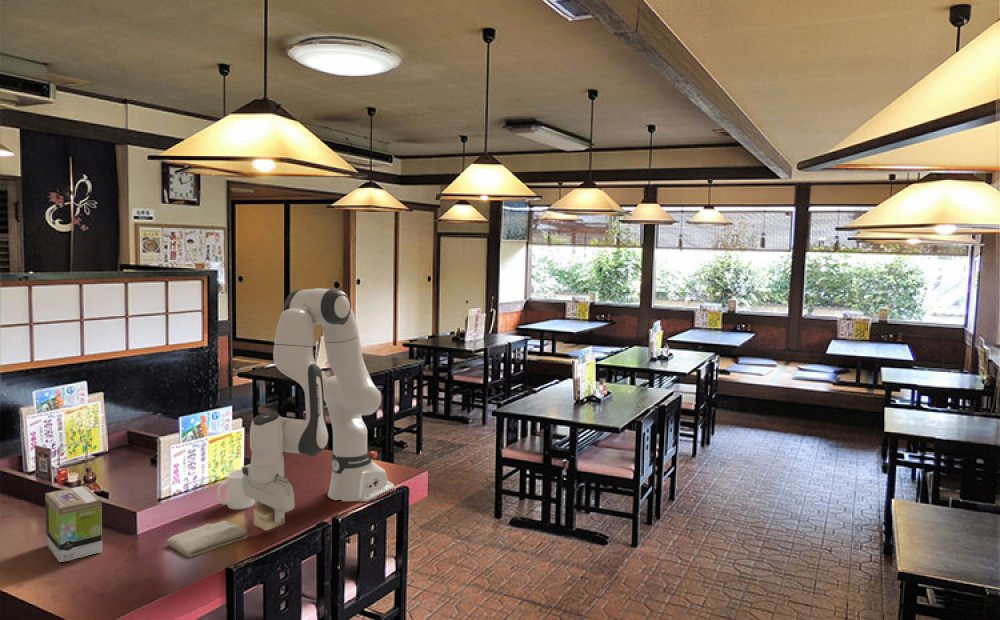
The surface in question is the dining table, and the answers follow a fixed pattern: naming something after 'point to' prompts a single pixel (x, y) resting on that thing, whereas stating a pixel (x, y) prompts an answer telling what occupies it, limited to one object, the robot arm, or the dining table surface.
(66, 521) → the tea box
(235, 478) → the cup
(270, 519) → the hinoki box
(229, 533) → the washcloth
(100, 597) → the dining table surface
